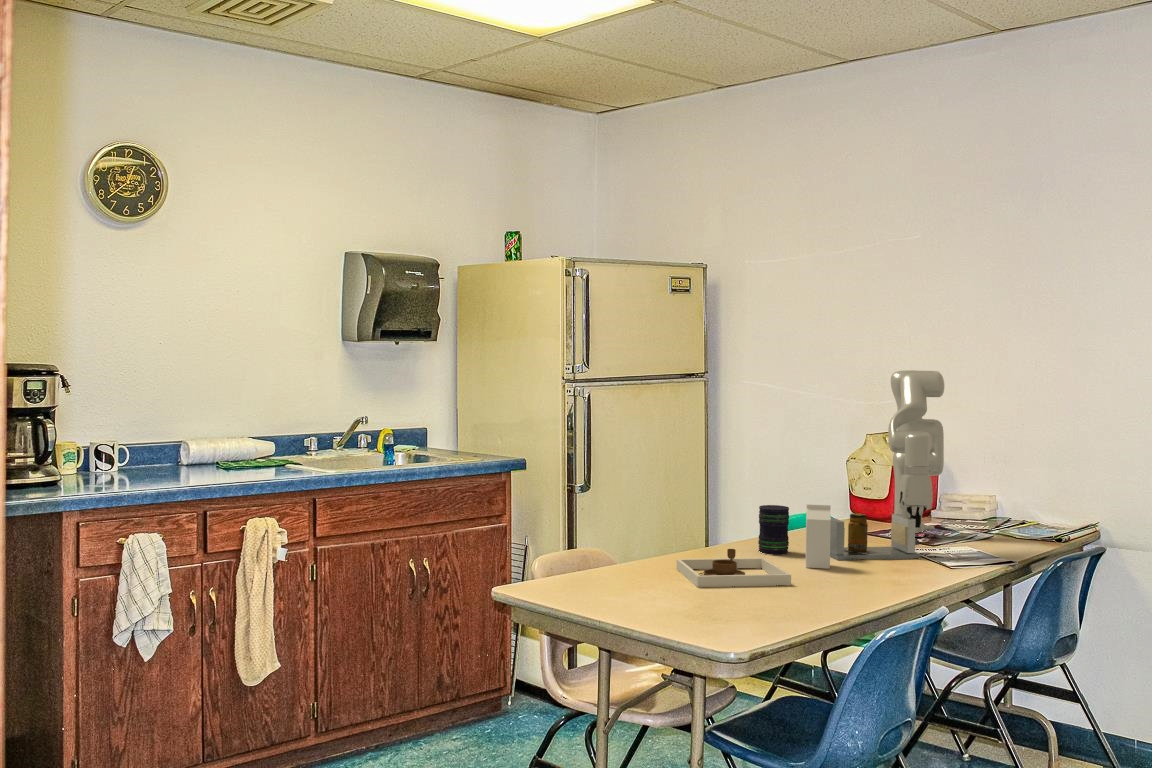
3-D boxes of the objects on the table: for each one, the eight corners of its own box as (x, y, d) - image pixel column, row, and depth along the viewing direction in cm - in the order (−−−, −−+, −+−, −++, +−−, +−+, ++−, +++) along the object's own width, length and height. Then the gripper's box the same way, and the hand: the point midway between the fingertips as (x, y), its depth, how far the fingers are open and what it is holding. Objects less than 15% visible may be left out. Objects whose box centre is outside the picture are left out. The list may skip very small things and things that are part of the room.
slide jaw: (909, 545, 352) (910, 513, 352) (926, 552, 341) (927, 519, 340) (889, 546, 351) (890, 513, 351) (905, 552, 340) (906, 519, 339)
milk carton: (829, 569, 321) (830, 506, 320) (805, 568, 322) (806, 506, 322) (828, 564, 328) (830, 503, 327) (805, 563, 329) (806, 502, 329)
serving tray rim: (763, 567, 322) (763, 557, 322) (791, 585, 297) (791, 574, 297) (676, 569, 318) (676, 559, 318) (697, 587, 294) (697, 576, 294)
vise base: (901, 550, 353) (901, 515, 353) (920, 558, 339) (921, 521, 339) (821, 552, 349) (821, 515, 349) (837, 560, 335) (837, 522, 335)
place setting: (686, 576, 307) (687, 556, 307) (728, 567, 321) (729, 548, 321) (735, 586, 294) (736, 565, 294) (777, 576, 309) (777, 556, 308)
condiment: (855, 548, 349) (856, 512, 348) (877, 552, 342) (877, 515, 342) (841, 550, 344) (842, 514, 344) (863, 554, 337) (864, 517, 337)
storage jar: (794, 554, 345) (795, 508, 345) (768, 555, 342) (769, 509, 341) (777, 548, 354) (778, 504, 354) (752, 550, 351) (753, 505, 350)
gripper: (932, 469, 350) (931, 525, 351) (889, 470, 348) (888, 525, 349) (943, 472, 343) (942, 528, 343) (900, 472, 341) (898, 529, 341)
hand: (915, 526), depth 346 cm, fingers closed
